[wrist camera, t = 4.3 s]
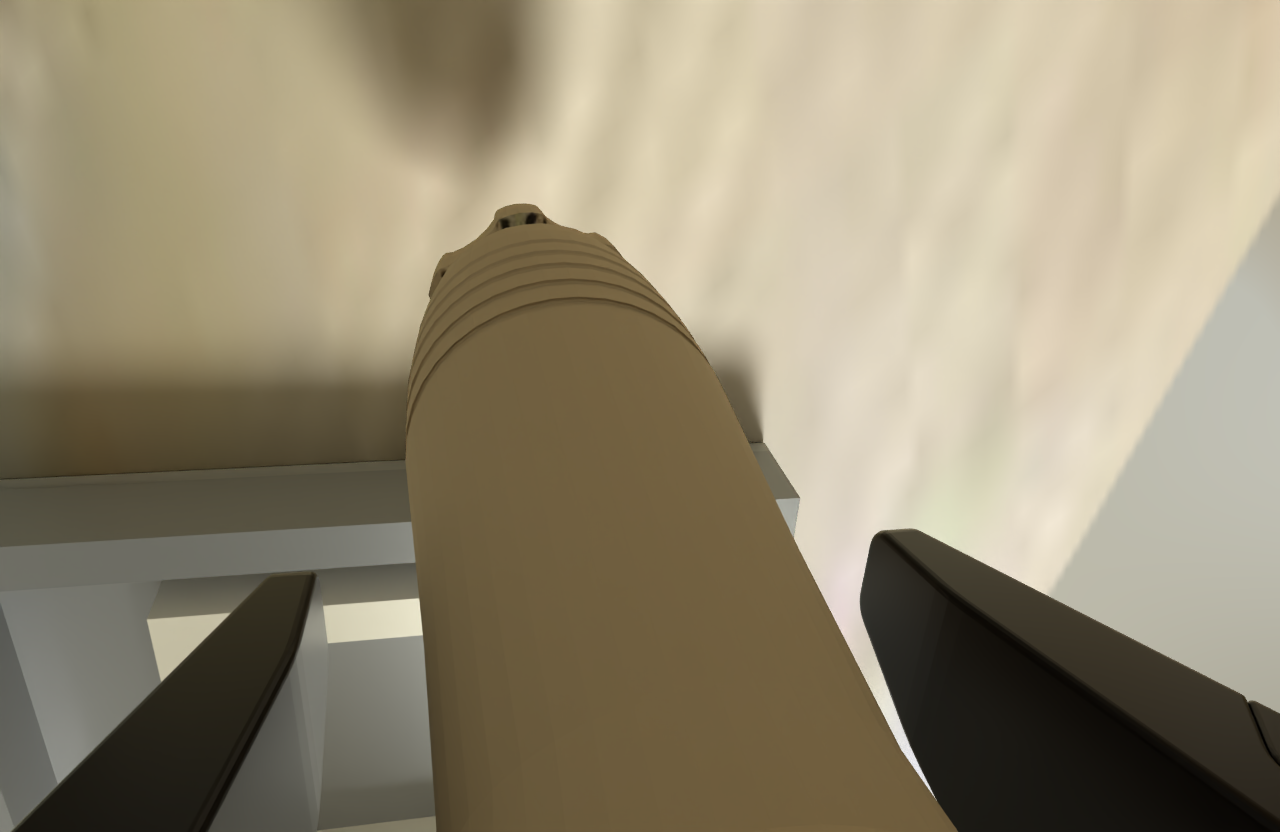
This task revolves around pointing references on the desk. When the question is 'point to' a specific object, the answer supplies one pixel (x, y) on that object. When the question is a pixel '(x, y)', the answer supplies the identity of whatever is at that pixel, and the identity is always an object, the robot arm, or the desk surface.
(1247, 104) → the desk surface
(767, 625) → the handle
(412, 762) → the walled box
